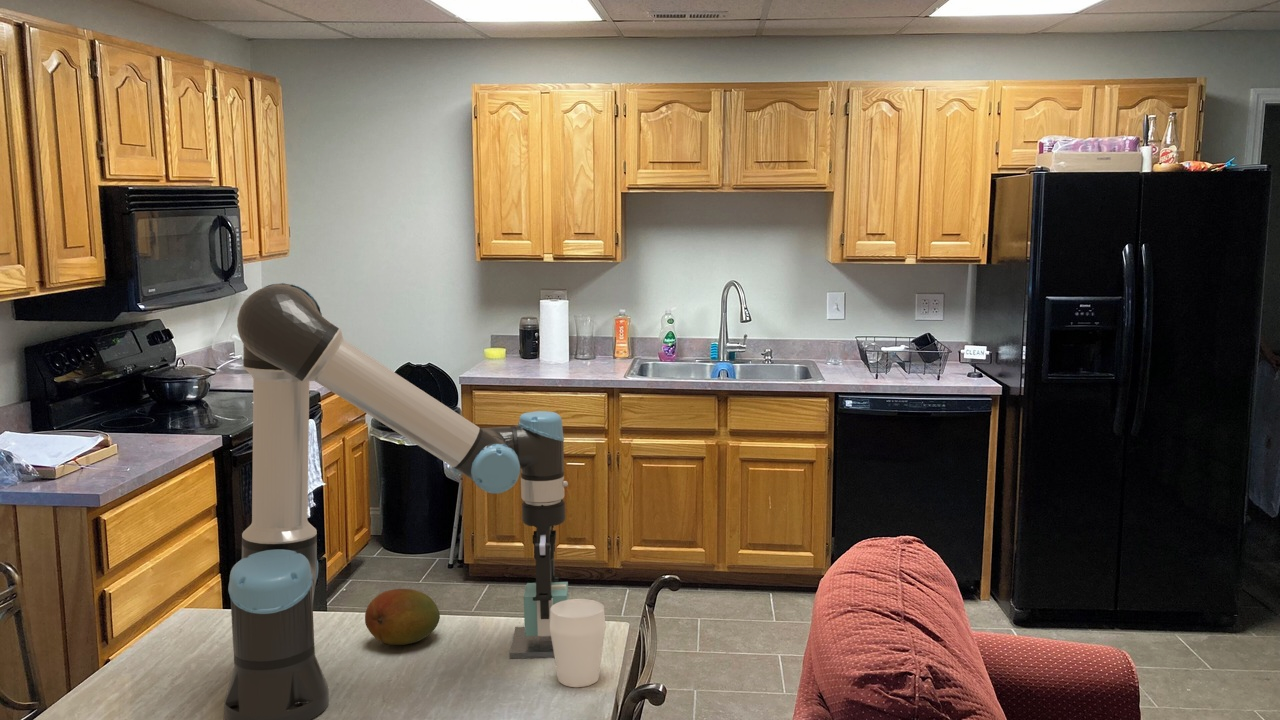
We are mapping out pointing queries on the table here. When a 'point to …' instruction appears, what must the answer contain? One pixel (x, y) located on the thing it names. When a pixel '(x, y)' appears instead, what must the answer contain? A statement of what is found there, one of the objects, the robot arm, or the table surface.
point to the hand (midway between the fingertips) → (546, 626)
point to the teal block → (530, 607)
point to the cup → (577, 640)
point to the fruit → (401, 616)
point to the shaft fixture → (530, 645)
